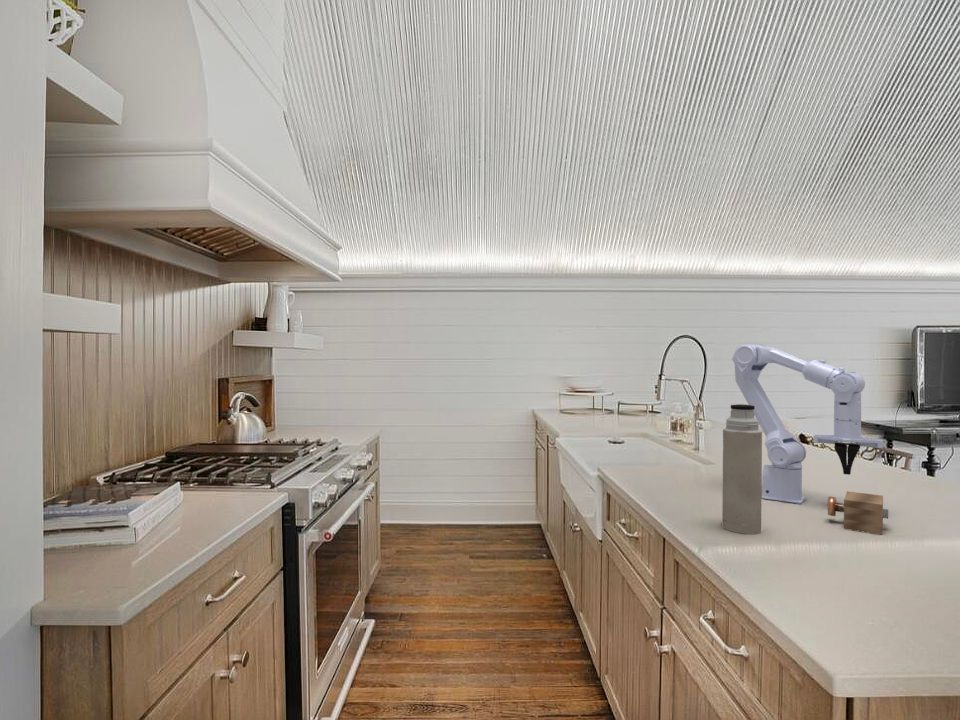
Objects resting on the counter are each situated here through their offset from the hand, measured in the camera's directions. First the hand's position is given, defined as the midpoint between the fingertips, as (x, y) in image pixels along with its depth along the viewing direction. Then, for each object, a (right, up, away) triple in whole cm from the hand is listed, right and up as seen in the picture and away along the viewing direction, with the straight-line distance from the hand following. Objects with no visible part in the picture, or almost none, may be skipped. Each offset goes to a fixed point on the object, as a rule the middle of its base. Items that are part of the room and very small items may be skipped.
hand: (847, 473), depth 140 cm
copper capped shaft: (-6, -8, -12) cm, 16 cm away
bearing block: (-5, -9, -13) cm, 17 cm away
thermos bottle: (-34, -10, -15) cm, 38 cm away
